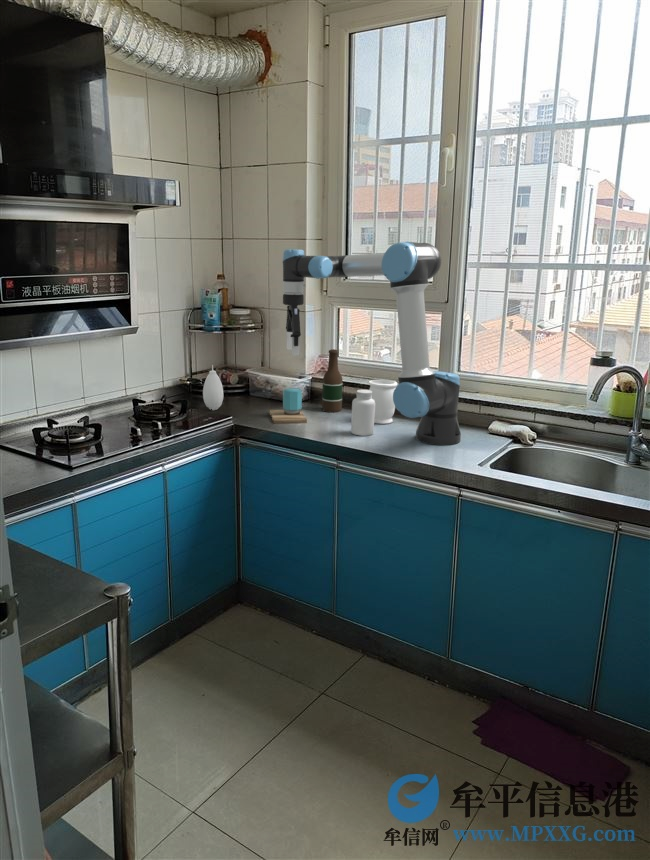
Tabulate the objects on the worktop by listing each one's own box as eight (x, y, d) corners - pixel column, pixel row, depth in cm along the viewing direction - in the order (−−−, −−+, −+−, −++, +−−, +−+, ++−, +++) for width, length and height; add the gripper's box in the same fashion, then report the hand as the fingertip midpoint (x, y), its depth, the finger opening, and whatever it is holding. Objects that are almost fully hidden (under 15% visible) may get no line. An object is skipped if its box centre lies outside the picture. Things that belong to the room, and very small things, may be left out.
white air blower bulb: (203, 407, 262) (202, 362, 258) (223, 407, 264) (222, 362, 259) (203, 412, 255) (202, 366, 250) (224, 412, 256) (223, 365, 252)
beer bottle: (322, 407, 267) (323, 348, 261) (341, 408, 267) (343, 348, 260) (321, 412, 260) (322, 351, 253) (341, 413, 259) (343, 351, 253)
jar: (361, 420, 248) (363, 381, 244) (380, 416, 255) (382, 378, 251) (382, 426, 241) (384, 385, 237) (401, 422, 247) (403, 382, 244)
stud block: (306, 422, 244) (307, 399, 241) (274, 423, 241) (274, 400, 239) (300, 412, 259) (300, 390, 257) (269, 412, 257) (269, 390, 254)
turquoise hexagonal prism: (282, 406, 254) (282, 388, 252) (299, 405, 255) (299, 387, 253) (284, 410, 248) (284, 391, 246) (302, 409, 249) (302, 391, 247)
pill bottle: (372, 437, 227) (374, 394, 223) (349, 435, 229) (350, 392, 225) (375, 431, 235) (377, 389, 231) (352, 429, 236) (354, 388, 232)
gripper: (309, 296, 229) (308, 357, 235) (298, 291, 253) (297, 347, 258) (287, 296, 228) (287, 357, 233) (278, 291, 251) (278, 347, 257)
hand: (292, 352), depth 246 cm, fingers open, 13 cm apart
